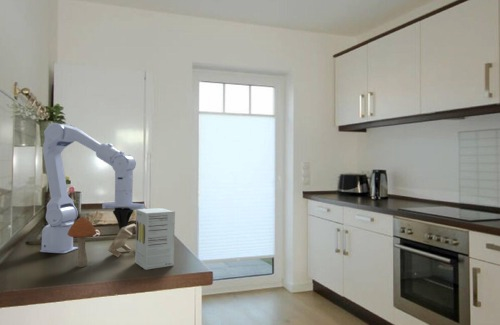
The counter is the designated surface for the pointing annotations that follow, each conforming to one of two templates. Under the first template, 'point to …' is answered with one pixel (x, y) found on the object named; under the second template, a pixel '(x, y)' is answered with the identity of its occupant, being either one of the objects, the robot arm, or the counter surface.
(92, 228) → the mushroom
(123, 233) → the footstool
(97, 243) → the counter surface
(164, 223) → the supplement box
